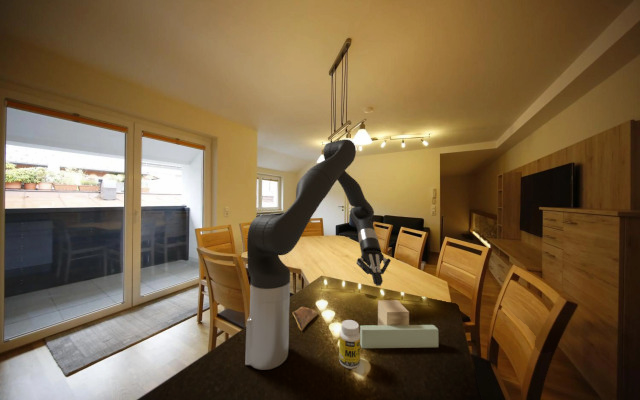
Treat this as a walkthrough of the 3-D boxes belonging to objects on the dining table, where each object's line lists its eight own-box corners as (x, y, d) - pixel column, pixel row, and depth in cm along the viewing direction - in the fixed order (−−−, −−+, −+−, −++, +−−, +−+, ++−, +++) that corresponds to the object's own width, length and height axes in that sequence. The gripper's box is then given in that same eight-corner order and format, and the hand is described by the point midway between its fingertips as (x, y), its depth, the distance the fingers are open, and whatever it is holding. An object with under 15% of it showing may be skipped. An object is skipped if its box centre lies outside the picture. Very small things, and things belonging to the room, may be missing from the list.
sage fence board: (361, 348, 52) (362, 330, 52) (359, 343, 54) (360, 325, 54) (438, 347, 53) (438, 329, 53) (433, 342, 55) (433, 324, 55)
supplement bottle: (343, 371, 44) (344, 331, 44) (336, 356, 49) (336, 320, 49) (363, 367, 45) (364, 328, 46) (354, 352, 50) (354, 317, 50)
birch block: (386, 342, 54) (387, 312, 54) (377, 327, 61) (378, 300, 61) (408, 342, 54) (408, 311, 55) (397, 327, 61) (397, 300, 62)
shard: (301, 333, 58) (301, 327, 58) (279, 326, 61) (279, 320, 61) (318, 316, 67) (319, 310, 68) (299, 310, 71) (299, 305, 71)
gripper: (354, 236, 79) (361, 279, 66) (387, 236, 80) (401, 279, 67) (351, 247, 84) (357, 289, 71) (382, 248, 85) (394, 289, 72)
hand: (378, 284), depth 69 cm, fingers closed
